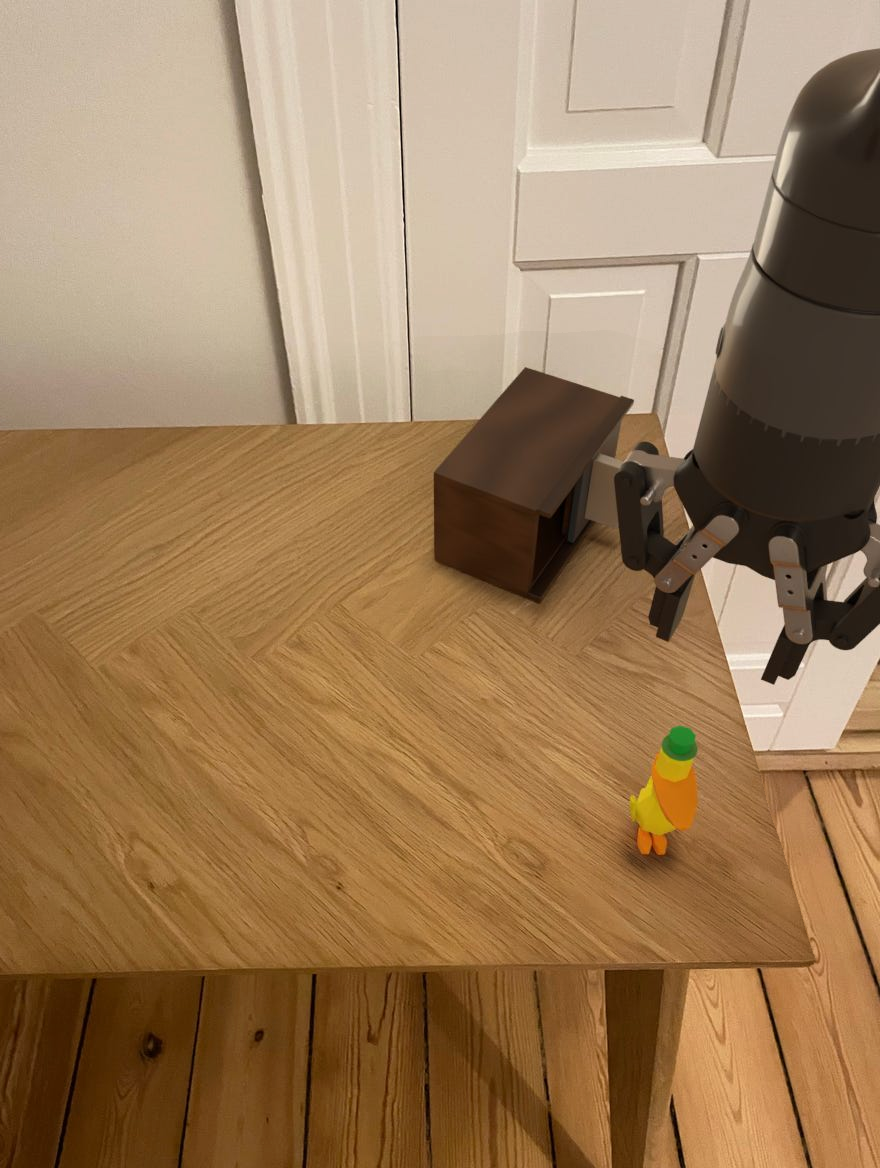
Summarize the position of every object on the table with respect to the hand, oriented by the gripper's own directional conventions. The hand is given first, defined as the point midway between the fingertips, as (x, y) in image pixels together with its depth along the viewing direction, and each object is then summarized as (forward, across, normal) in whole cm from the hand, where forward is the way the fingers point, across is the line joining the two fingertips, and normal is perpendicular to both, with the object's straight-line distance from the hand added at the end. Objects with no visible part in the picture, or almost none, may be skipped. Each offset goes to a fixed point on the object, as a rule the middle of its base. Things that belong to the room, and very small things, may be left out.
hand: (719, 648), depth 50 cm
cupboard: (+21, +22, -24) cm, 39 cm away
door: (+20, +15, -27) cm, 37 cm away
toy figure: (+22, 0, 0) cm, 22 cm away
